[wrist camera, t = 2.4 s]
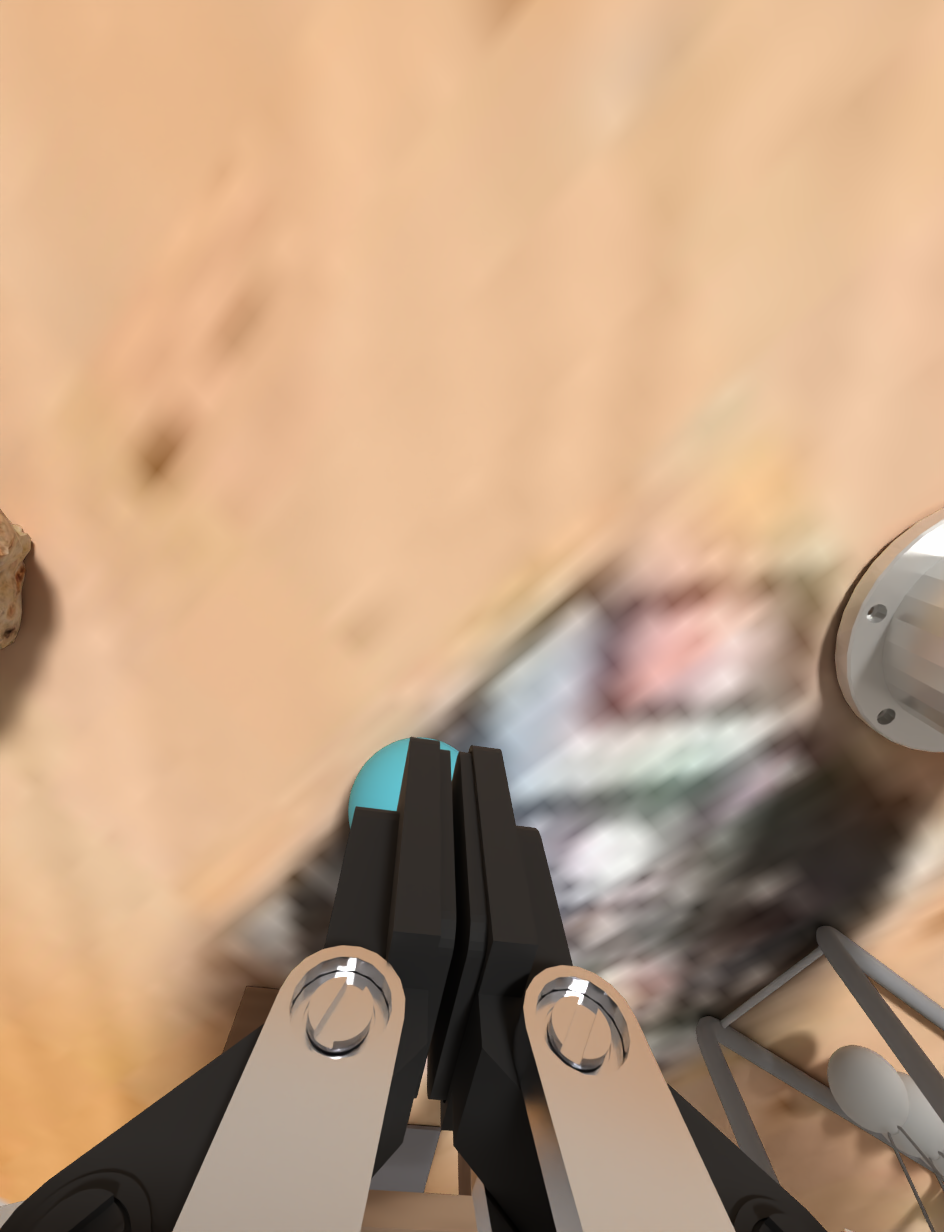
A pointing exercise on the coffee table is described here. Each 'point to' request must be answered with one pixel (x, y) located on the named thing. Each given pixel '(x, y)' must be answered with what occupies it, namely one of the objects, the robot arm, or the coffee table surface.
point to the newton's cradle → (847, 1065)
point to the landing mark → (409, 1162)
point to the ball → (385, 777)
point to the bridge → (393, 1220)
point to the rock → (11, 577)
